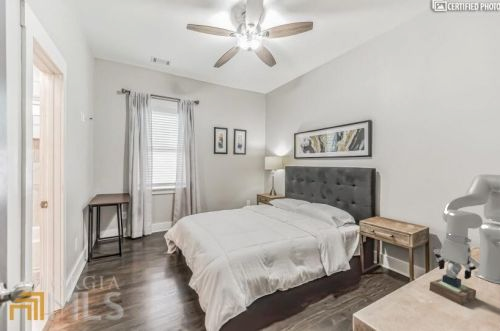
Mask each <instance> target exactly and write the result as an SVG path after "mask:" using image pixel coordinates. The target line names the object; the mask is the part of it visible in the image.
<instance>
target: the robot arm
mask: <svg viewBox="0 0 500 331" xmlns="http://www.w3.org/2000/svg"><path fill="white" fill-rule="evenodd" d="M482 205H483V217H484V218H485V219H486V220H487V221H492V222H484V221H483V218H482V217H481V215H479V214H477V213H474V212H469V211H463V210H460V209H462V208H467V207H475V206H477V207H478V206H482ZM442 220H443V222H445V223H446V230H445V231H446V232H445V237H444V238H443V241H442V243H441V248H436V249H432V250H433V253H434V255H435V258H436V259H437V260H438V268H439V270H444V269H445V264H446V263H445V262H446V261H445V260H447V261H448V262H449V261H452V262H455V263H458V264H460V265H461V266H463V267H464V268H465V270H464V277H463V278H464V279H465V280H469V279H470V278H472V271H473V274H474V275H475V276H476V277H477V278H480V279H481V280H484V281H487V282H490V283H493V284H494V283H495V284H498V285H500V224H499V223H500V174H479V175H476V176H474V178H473V179H472V180H471V183H470V185H469V187H468V189H467V190H466V192H465V194H462V195H460V196H457V197H455V198H453V199H451V200H450V201H449V202H447V204H446V206H445V209H444V210H443V211H442ZM494 222H497V223H494ZM469 229H478V233H479V253H478V261H476V260H475V259H473V258H472V252H471V245H470V243H472V239H469V236H468V235H469ZM439 252H440V253H439ZM471 263H472V264H473V266H471Z"/></svg>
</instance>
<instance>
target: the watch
mask: <svg viewBox="0 0 500 331" xmlns="http://www.w3.org/2000/svg"><path fill="white" fill-rule="evenodd" d="M462 266H463V265H461V264H458V263H455V262H452V261H449V260H448V262H447V264H446V268H445V272H446V273H445V274H443V275H442V278H443V279H442V278H441V279H442V282H444V283H446V284H449V285H451V286H454V287H456V288H457V287H460V286H461V284H462V279H461V278H458V276H459V274H460V272H461V271H462V269H463V267H462Z"/></svg>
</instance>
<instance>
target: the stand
mask: <svg viewBox="0 0 500 331" xmlns="http://www.w3.org/2000/svg"><path fill="white" fill-rule="evenodd" d="M442 279H443V277H442V278H439V279H436V280H433V281H430V282H429V291H431V292H433V293H434V294H436V295H439V296H441V297H442V298H445V299H447V300H449V301H451V302H454V303H456V304H458V305H460V306H463V305H464V304H466V303H469V302H472V301H474V300H476V296H477V290H476V289H475V288H471V287H469V286H467V285H464V284H462V283H461V286H460V287H457V288H456V287H454V286H451V285H449V284H446V283H444V282H442Z"/></svg>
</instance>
